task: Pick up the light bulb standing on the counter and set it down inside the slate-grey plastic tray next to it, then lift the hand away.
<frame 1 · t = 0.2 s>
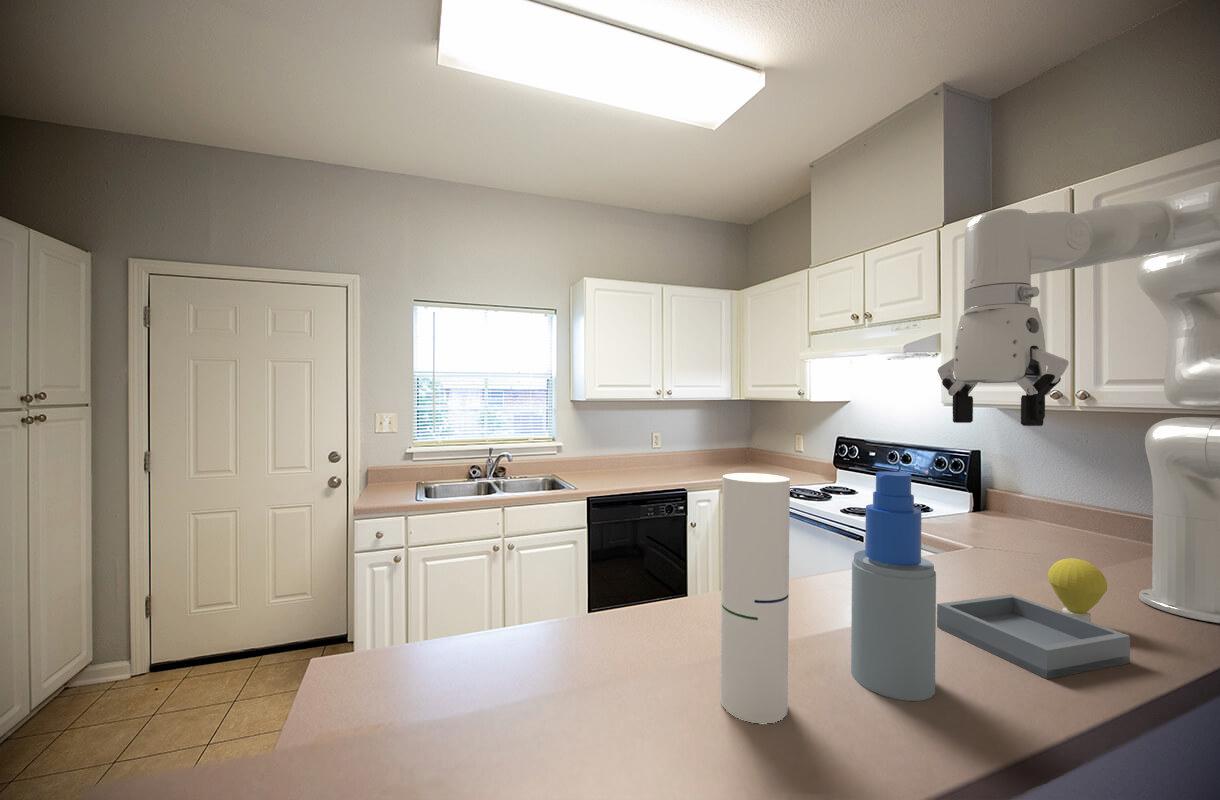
hand: (995, 424, 72), 31 cm above the counter, fingers open, 9 cm apart
cylindrical container: (753, 706, 57), on the counter
spray bottle: (891, 681, 62), on the counter
light bulb: (1076, 626, 78), on the counter
tray: (1026, 643, 72), on the counter
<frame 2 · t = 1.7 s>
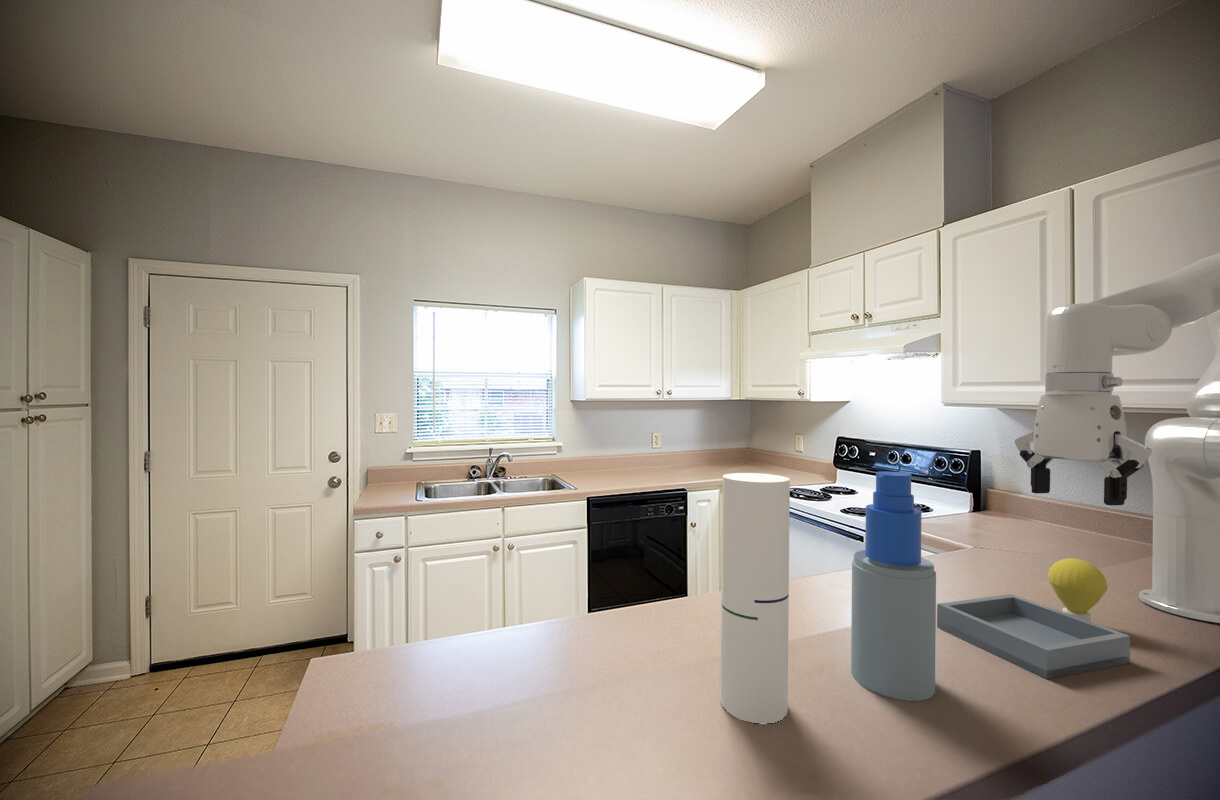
hand: (1075, 498, 78), 19 cm above the counter, fingers open, 9 cm apart
nothing on the counter moved.
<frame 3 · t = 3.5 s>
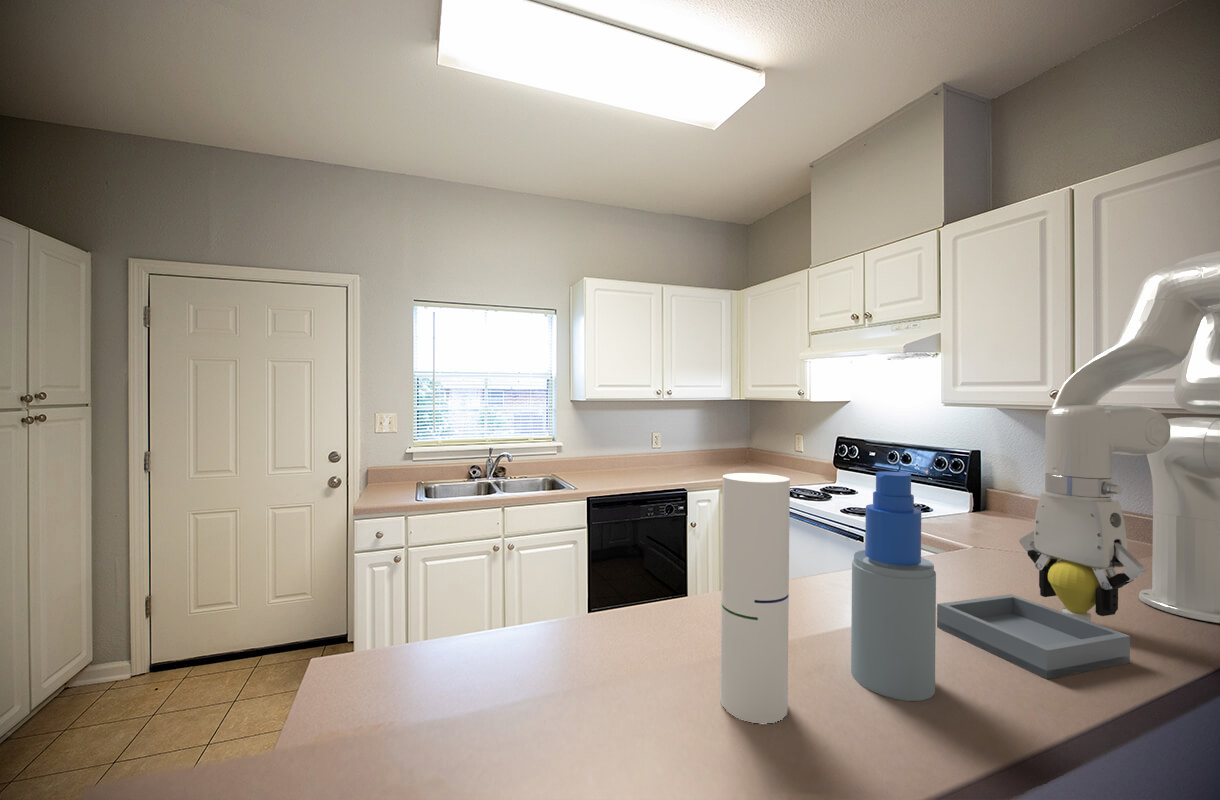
hand: (1076, 603, 78), 3 cm above the counter, fingers closed on light bulb, 6 cm apart
light bulb: (1076, 626, 78), on the counter, touching gripper
everything else where it was.
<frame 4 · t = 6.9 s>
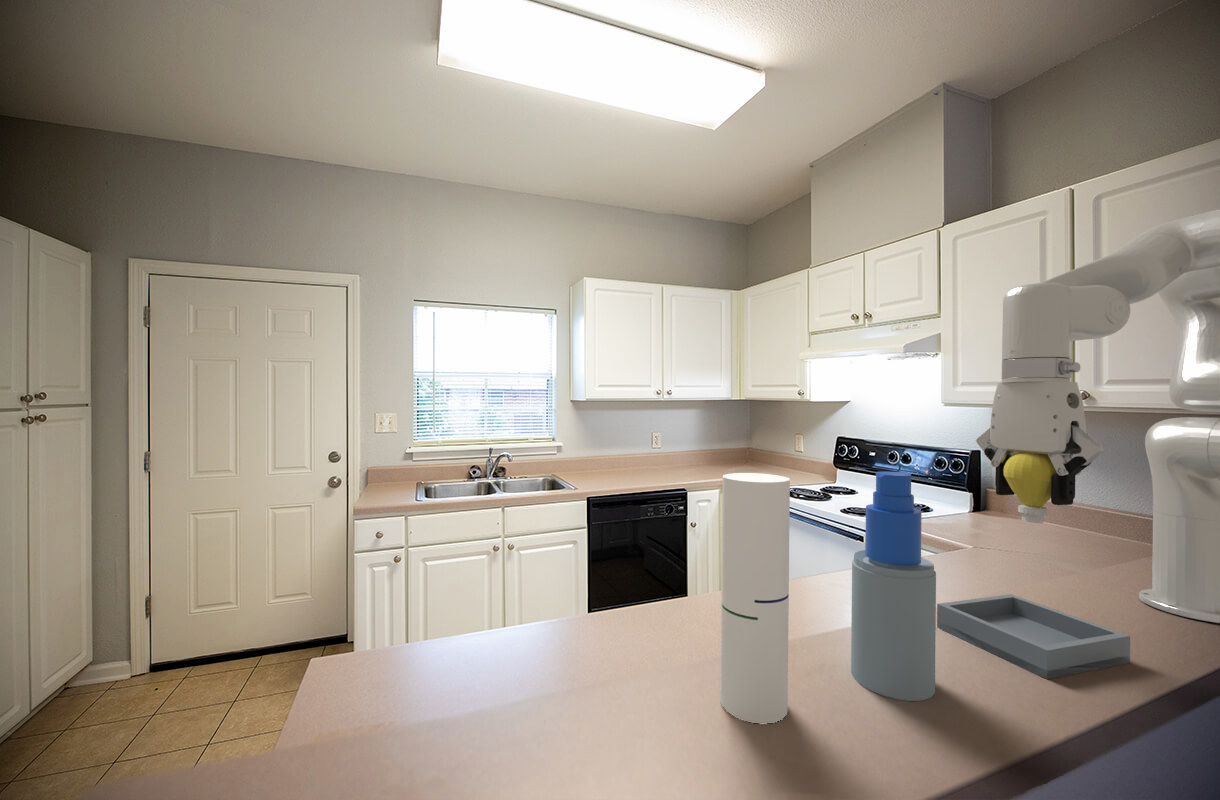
hand: (1032, 498, 73), 20 cm above the counter, fingers closed on light bulb, 6 cm apart
light bulb: (1032, 522, 73), point 17 cm above the counter, touching gripper
everything else where it was.
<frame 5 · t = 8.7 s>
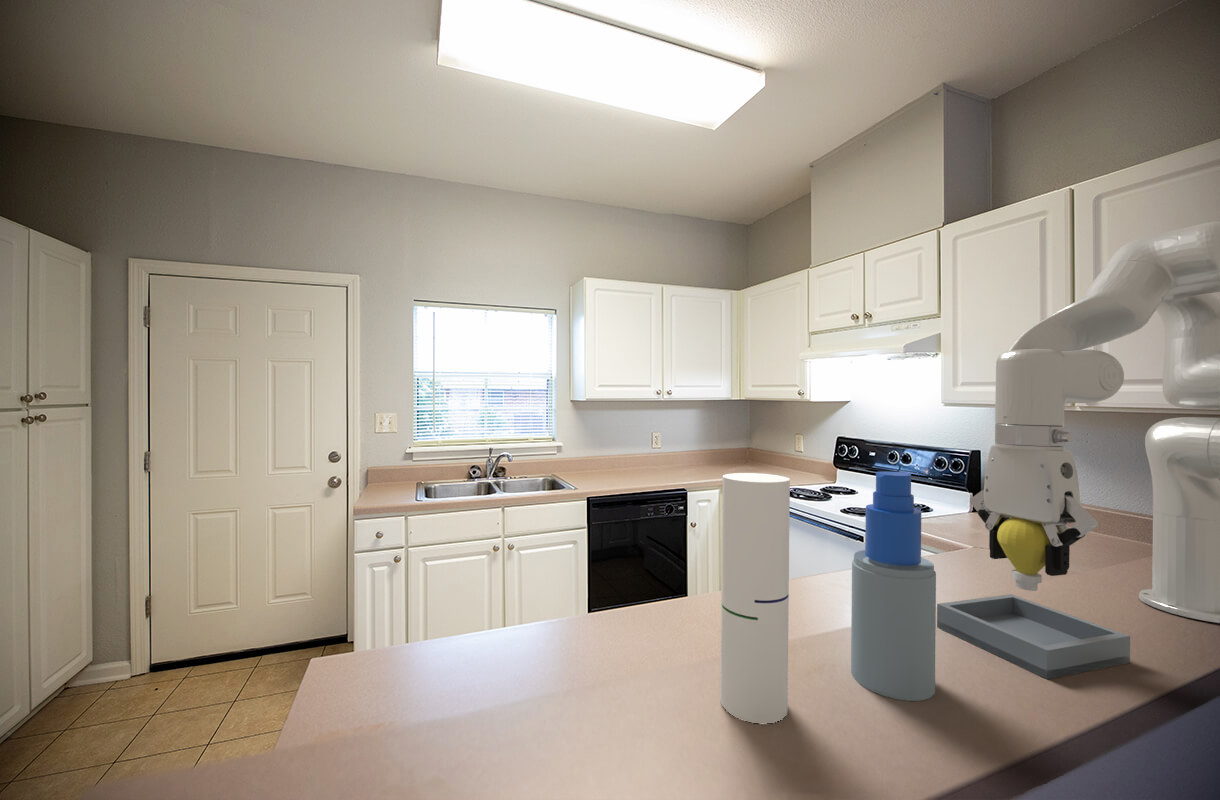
hand: (1026, 564, 72), 11 cm above the counter, fingers closed on light bulb, 6 cm apart
light bulb: (1026, 589, 72), point 8 cm above the counter, touching gripper
everything else where it was.
when the fingers open (6 cm above the counter, at t = 10.3 s): light bulb drops 1 cm, resting on tray.
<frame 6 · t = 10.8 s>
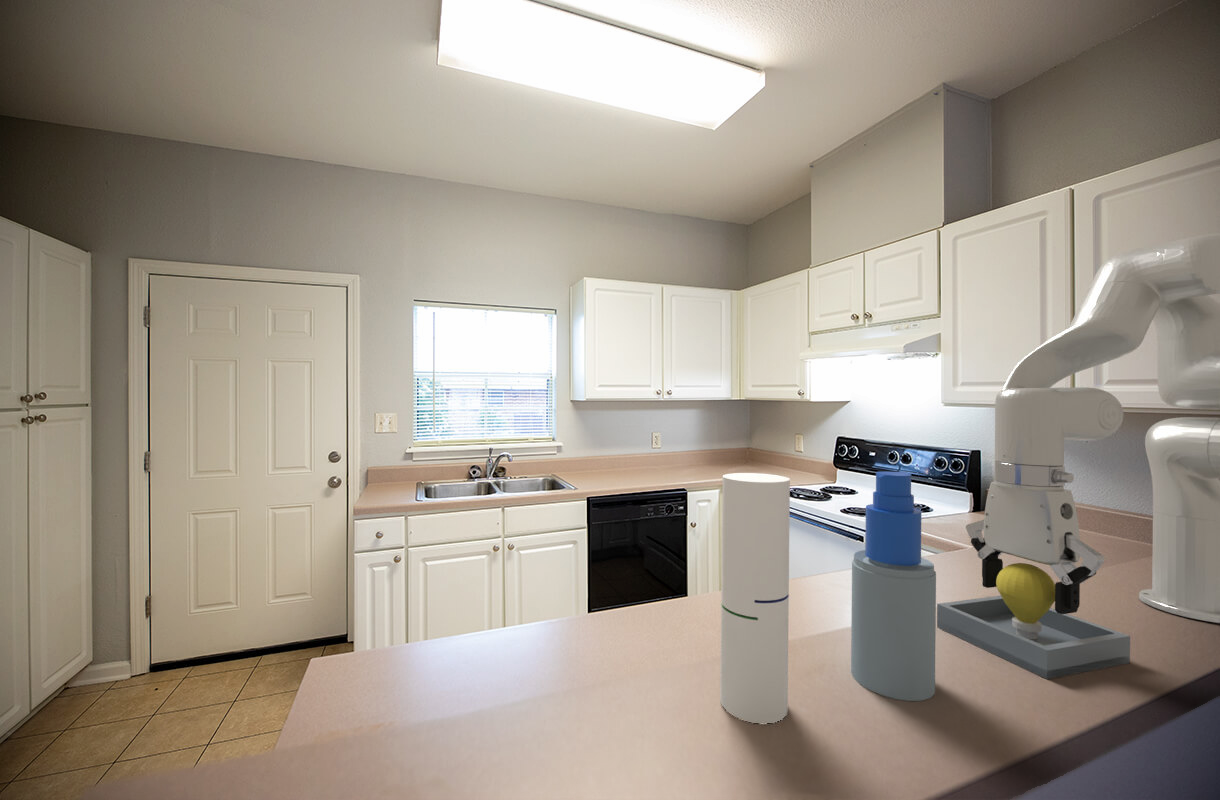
hand: (1027, 598, 72), 6 cm above the counter, fingers open, 9 cm apart
light bulb: (1026, 637, 72), point 1 cm above the counter, touching tray
everything else where it was.
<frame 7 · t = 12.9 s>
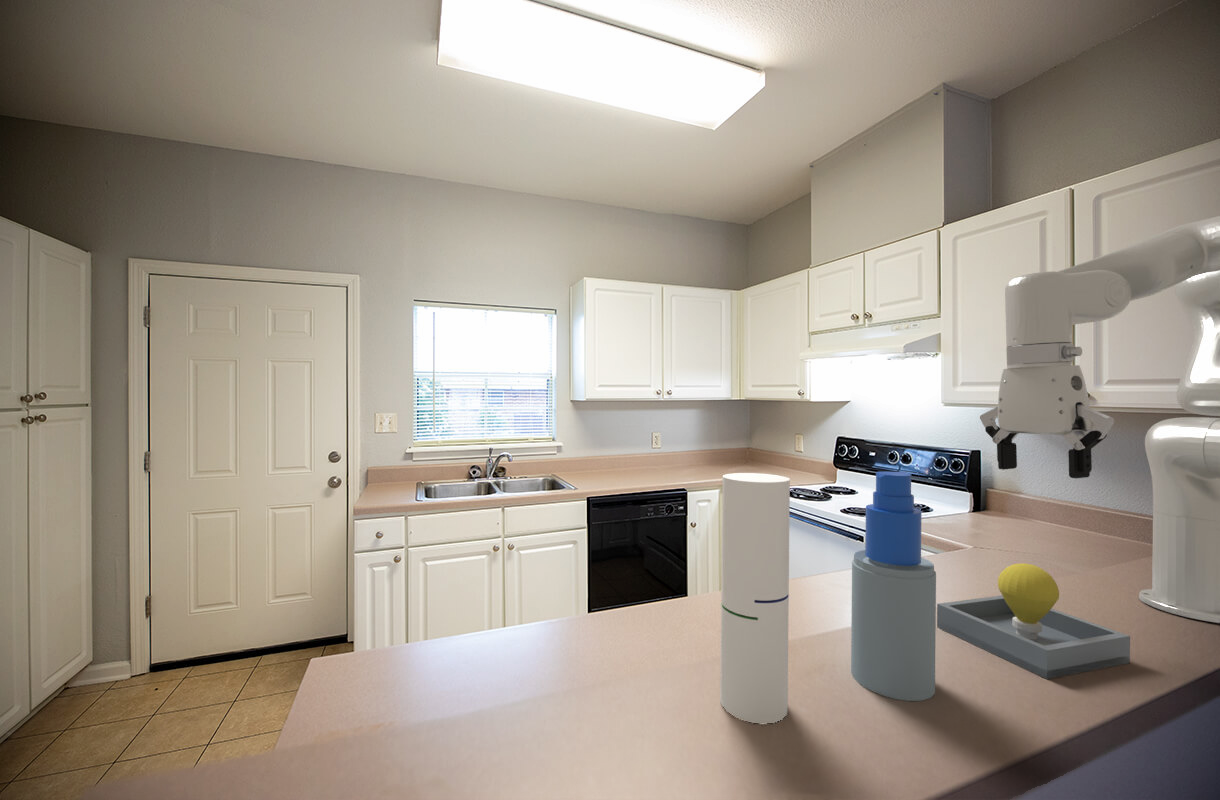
hand: (1041, 472, 77), 23 cm above the counter, fingers open, 9 cm apart
nothing on the counter moved.
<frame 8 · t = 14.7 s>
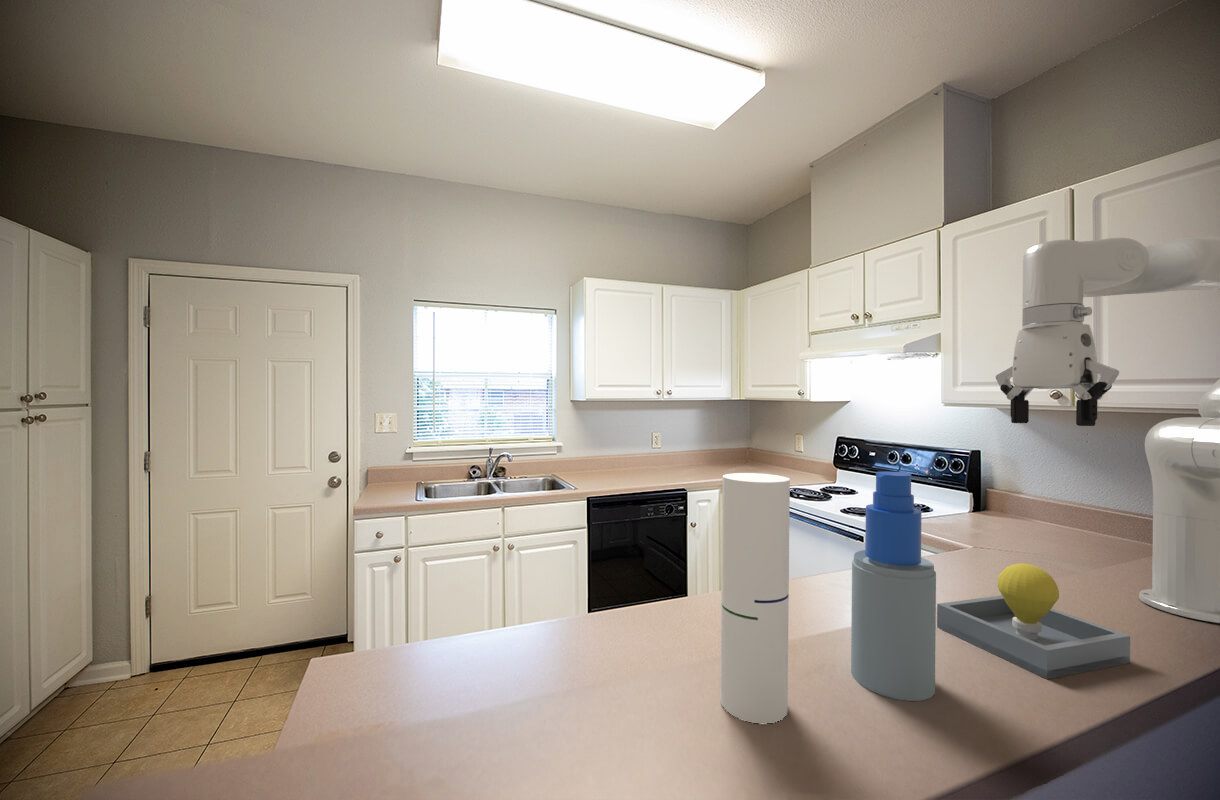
hand: (1051, 424, 84), 30 cm above the counter, fingers open, 9 cm apart
nothing on the counter moved.
at the end: light bulb inside the target area on the tray (0.3 cm from its centre), point 0.8 cm above the tray's base; the gripper is holding nothing; light bulb moved 14.0 cm from its start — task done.
